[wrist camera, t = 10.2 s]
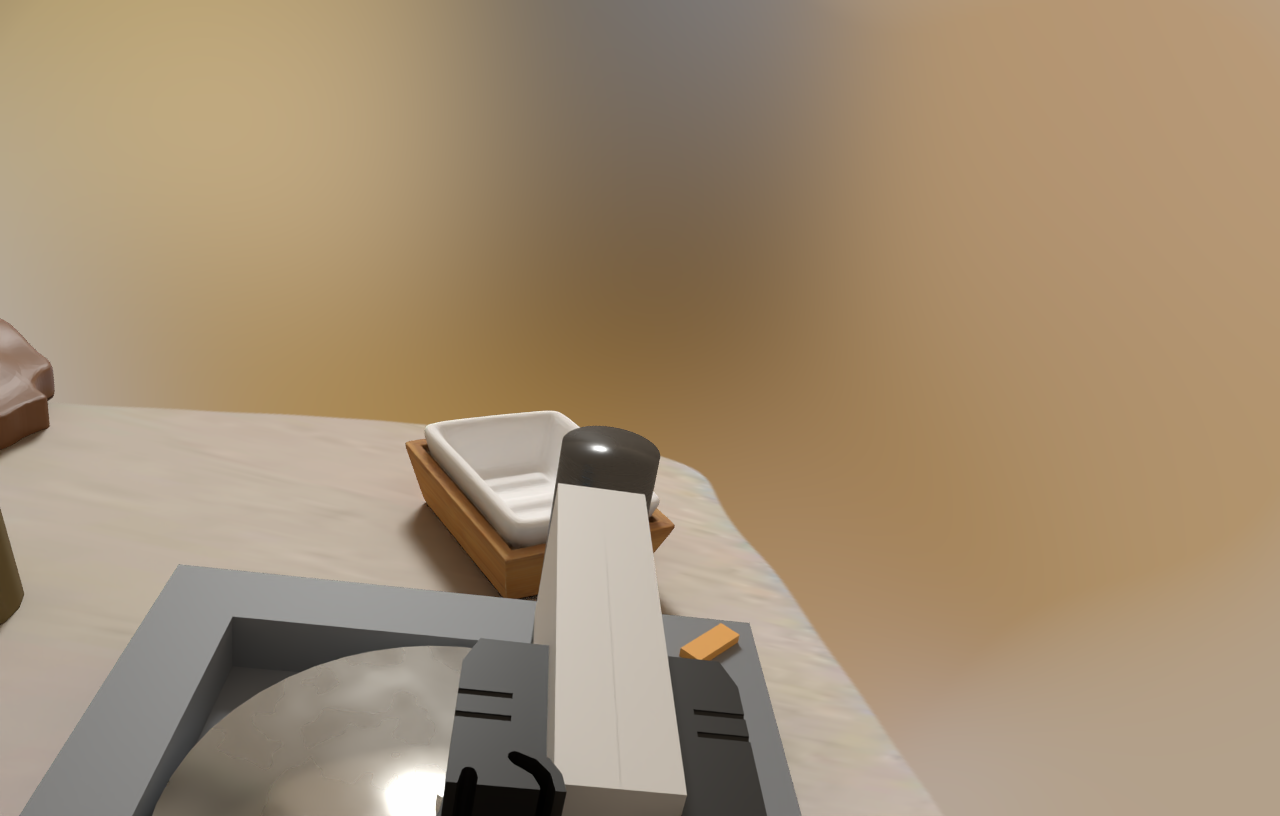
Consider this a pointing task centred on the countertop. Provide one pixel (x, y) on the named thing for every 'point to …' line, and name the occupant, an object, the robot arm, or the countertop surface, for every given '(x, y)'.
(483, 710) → the robot arm
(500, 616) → the tray
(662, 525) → the soap dish
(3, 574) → the cork
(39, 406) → the plant
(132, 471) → the countertop surface
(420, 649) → the dial
